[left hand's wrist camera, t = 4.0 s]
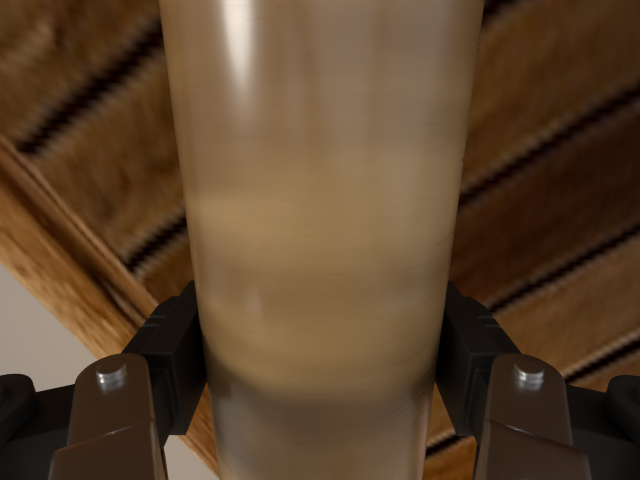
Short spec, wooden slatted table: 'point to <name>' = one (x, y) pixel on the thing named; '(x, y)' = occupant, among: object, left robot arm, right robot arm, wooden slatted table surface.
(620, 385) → the left robot arm
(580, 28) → the wooden slatted table surface
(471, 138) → the wooden slatted table surface
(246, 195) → the rod
